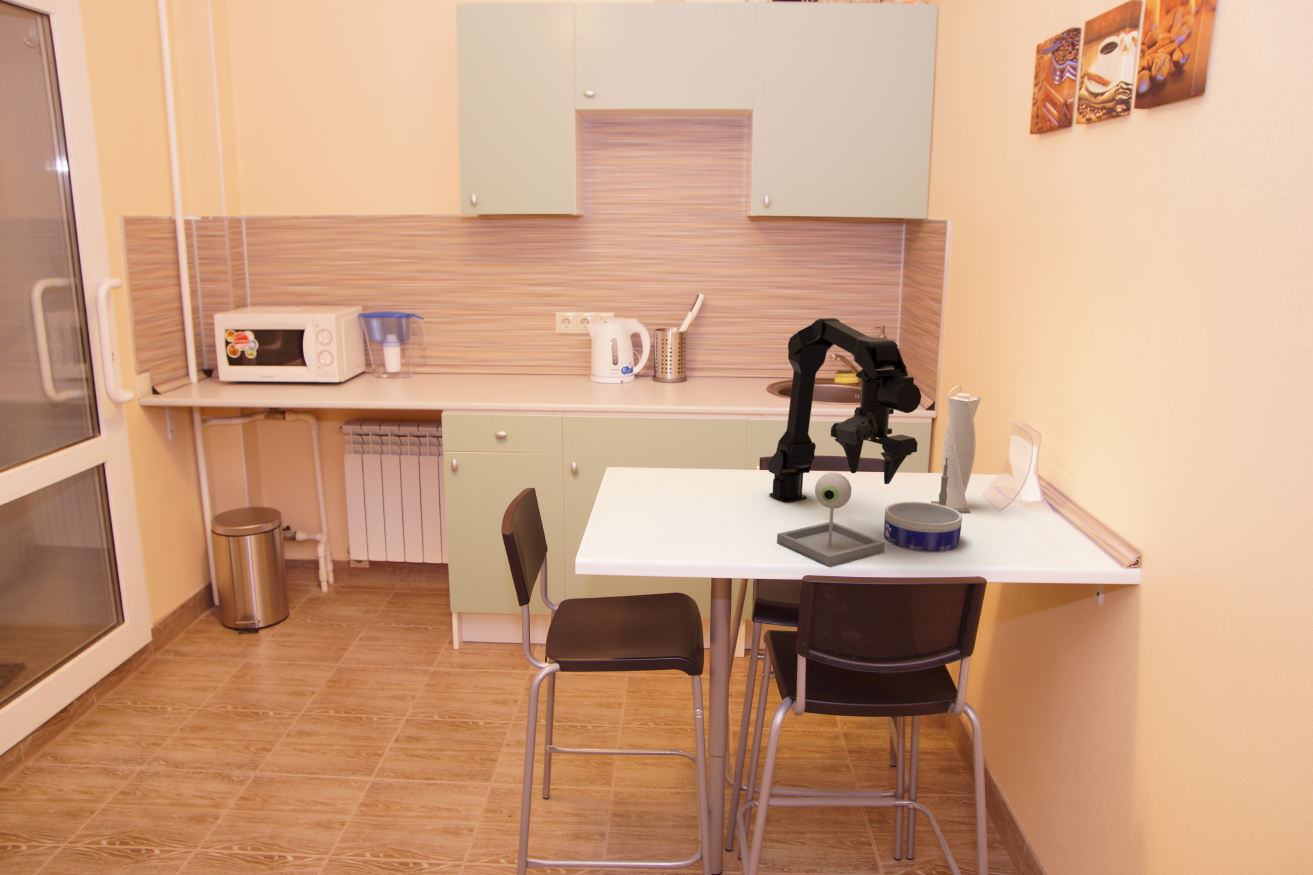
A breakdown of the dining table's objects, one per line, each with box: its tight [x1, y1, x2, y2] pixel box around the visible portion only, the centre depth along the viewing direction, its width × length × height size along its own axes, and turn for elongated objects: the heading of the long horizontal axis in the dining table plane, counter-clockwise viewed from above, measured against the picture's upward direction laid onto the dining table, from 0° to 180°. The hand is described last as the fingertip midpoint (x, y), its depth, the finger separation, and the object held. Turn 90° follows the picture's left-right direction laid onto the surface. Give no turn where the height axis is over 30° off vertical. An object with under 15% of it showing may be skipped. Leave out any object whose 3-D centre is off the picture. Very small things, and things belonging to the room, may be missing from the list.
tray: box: [776, 521, 886, 567], centre depth 183 cm, size 15×15×2 cm
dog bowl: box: [883, 501, 963, 553], centre depth 188 cm, size 15×15×6 cm
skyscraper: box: [930, 384, 982, 514], centre depth 207 cm, size 8×8×28 cm
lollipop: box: [814, 472, 852, 546], centre depth 181 cm, size 7×7×15 cm
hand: (869, 478), depth 185 cm, fingers open, 9 cm apart
